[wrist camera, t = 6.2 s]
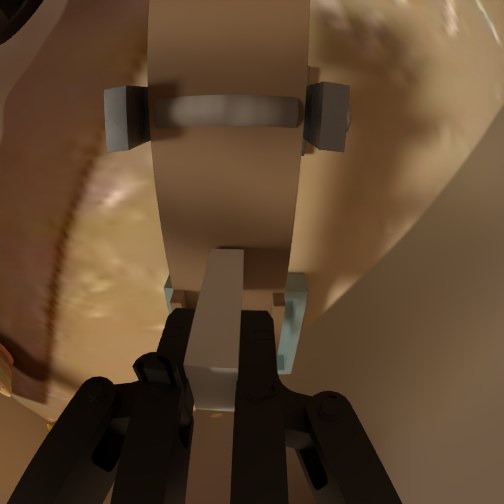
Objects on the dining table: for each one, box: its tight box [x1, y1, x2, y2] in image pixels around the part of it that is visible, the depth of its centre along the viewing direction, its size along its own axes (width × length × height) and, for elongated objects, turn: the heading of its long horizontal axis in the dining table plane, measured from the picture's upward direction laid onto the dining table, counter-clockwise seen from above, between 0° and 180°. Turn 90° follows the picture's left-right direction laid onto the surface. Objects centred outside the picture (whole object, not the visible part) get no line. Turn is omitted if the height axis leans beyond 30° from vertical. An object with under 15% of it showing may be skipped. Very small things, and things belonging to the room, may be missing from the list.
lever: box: [147, 0, 310, 357], centre depth 13 cm, size 24×6×5 cm, turn 178°
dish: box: [164, 273, 308, 374], centre depth 28 cm, size 13×13×3 cm
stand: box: [104, 66, 351, 156], centre depth 13 cm, size 7×10×12 cm
